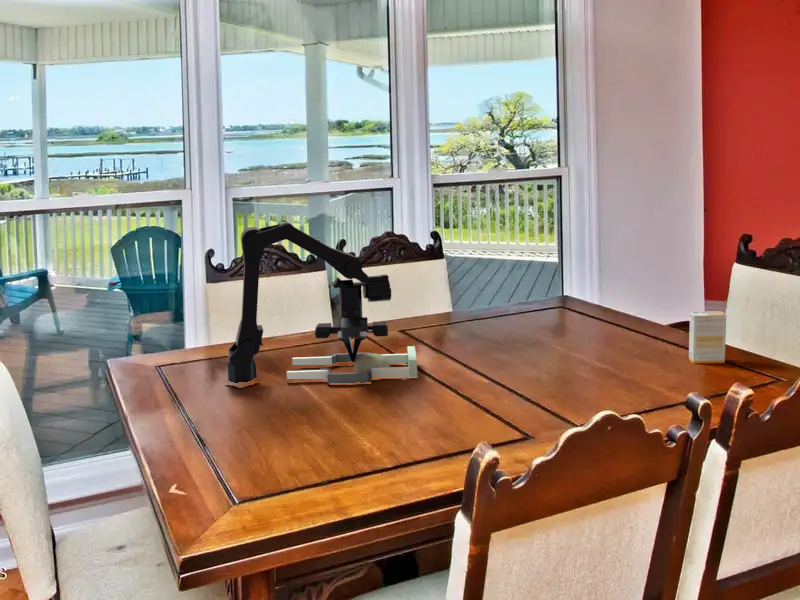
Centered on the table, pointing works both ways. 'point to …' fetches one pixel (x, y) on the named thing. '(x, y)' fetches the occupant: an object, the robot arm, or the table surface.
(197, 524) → the table surface
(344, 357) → the trap lane
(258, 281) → the robot arm
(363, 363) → the sea urchin shell
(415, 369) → the end block
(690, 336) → the supplement box
